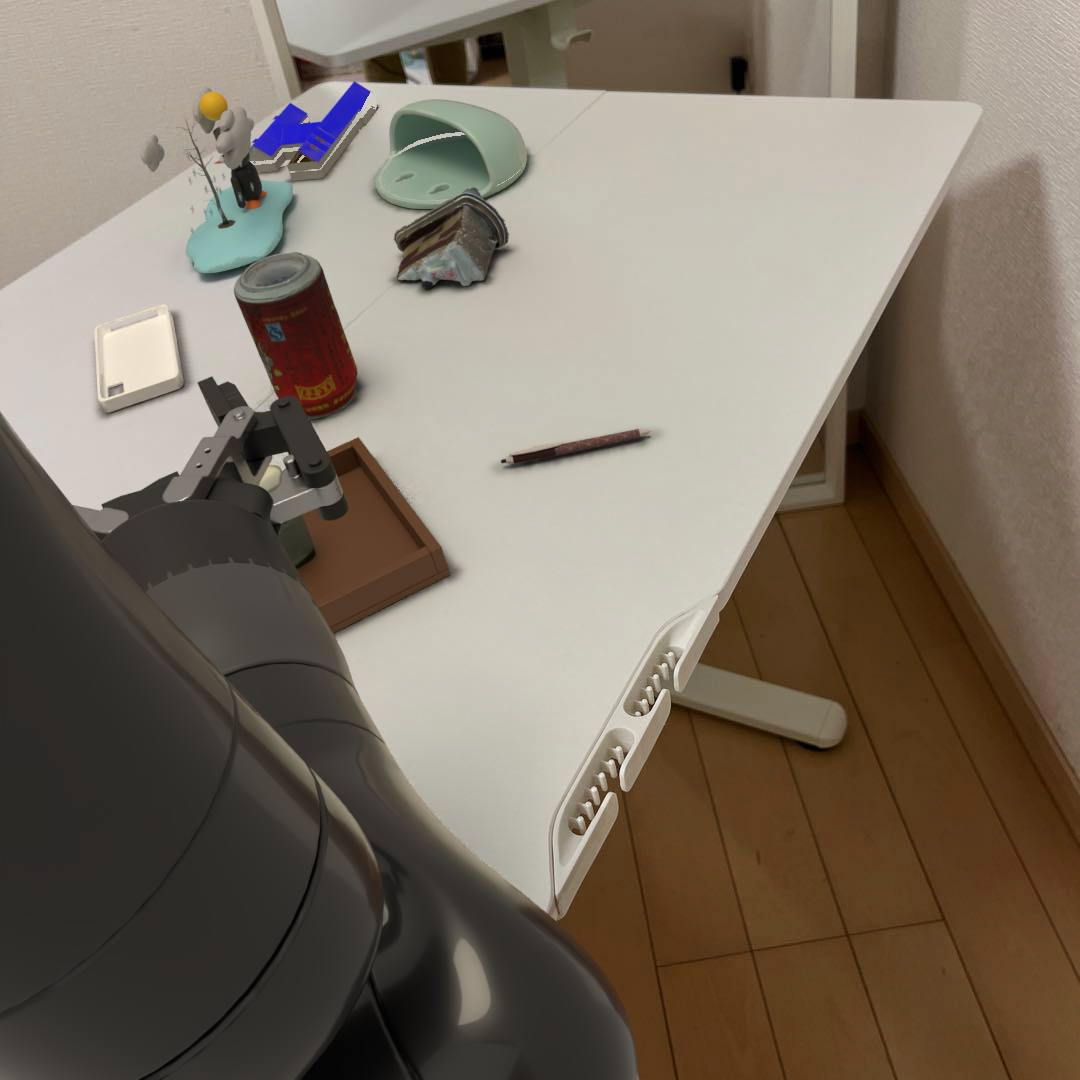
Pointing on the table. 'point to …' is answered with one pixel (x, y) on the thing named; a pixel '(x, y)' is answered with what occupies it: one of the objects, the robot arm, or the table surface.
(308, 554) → the cream and green block
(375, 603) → the tray
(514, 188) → the table surface
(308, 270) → the soda can
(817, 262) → the table surface
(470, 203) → the chocolate cake
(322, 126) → the building model
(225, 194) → the penguin figurine
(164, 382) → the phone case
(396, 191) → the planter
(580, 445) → the pen
